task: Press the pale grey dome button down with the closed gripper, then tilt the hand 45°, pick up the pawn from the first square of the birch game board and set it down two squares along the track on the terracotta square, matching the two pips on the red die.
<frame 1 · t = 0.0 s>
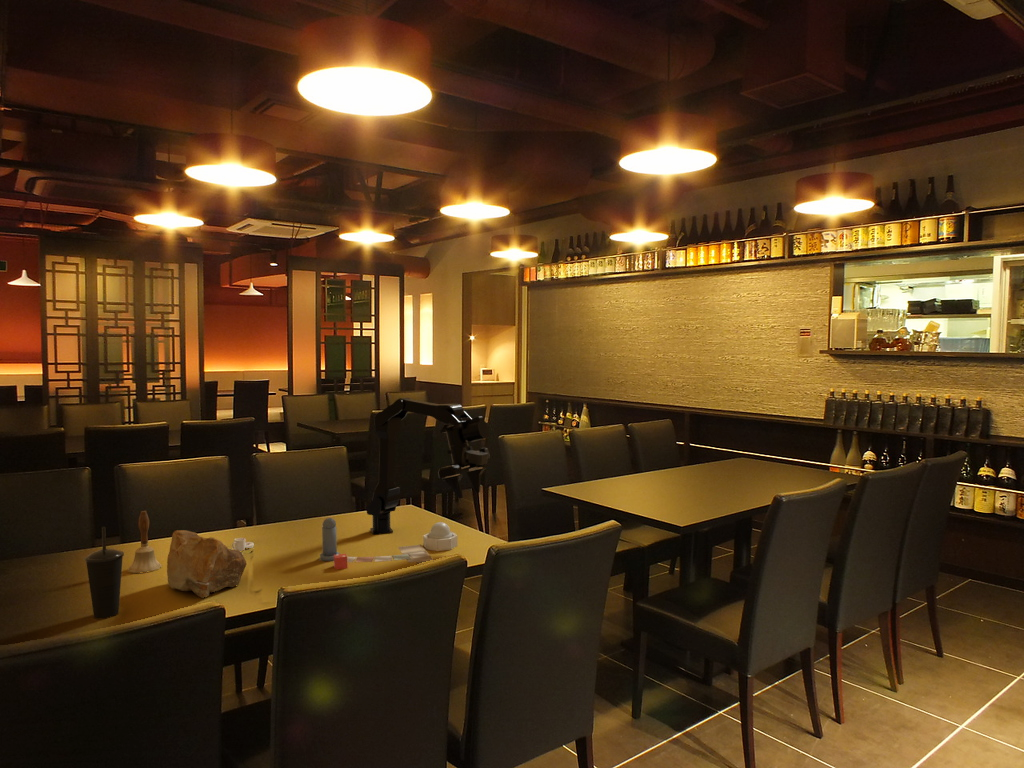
hand: (469, 495, 210), 15 cm above the table, tool pointing down, fingers open, 9 cm apart
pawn: (329, 558, 195), point 1 cm above the table, touching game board
dome housing: (440, 545, 211), on the table
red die: (340, 567, 187), resting on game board
drinking cup: (106, 615, 157), on the table
rough brown rock: (210, 588, 175), on the table
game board: (374, 560, 196), on the table
teacup and saucer: (250, 552, 207), on the table
dome button: (440, 532, 211), point 4 cm above the table, slide at 0.0 cm
hand bell: (144, 569, 190), on the table
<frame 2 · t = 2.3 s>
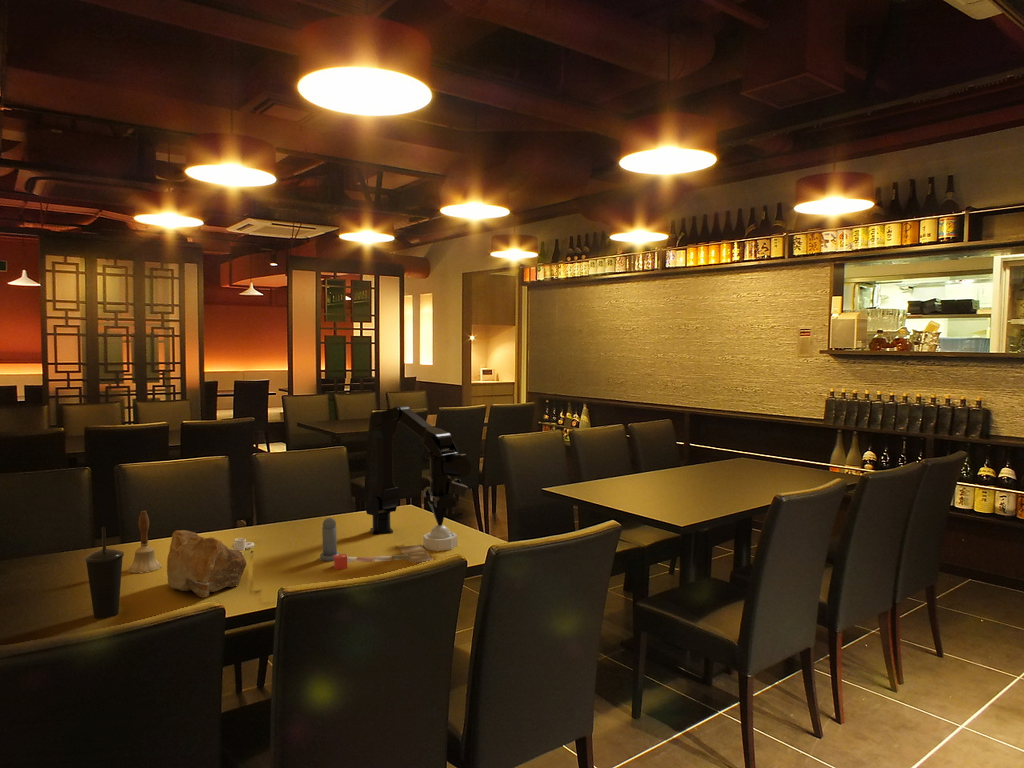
hand: (440, 525, 211), 6 cm above the table, tool pointing down, fingers closed, pressing on dome button
dome button: (440, 534, 211), point 3 cm above the table, slide at 0.8 cm, touching gripper
everything else where it was.
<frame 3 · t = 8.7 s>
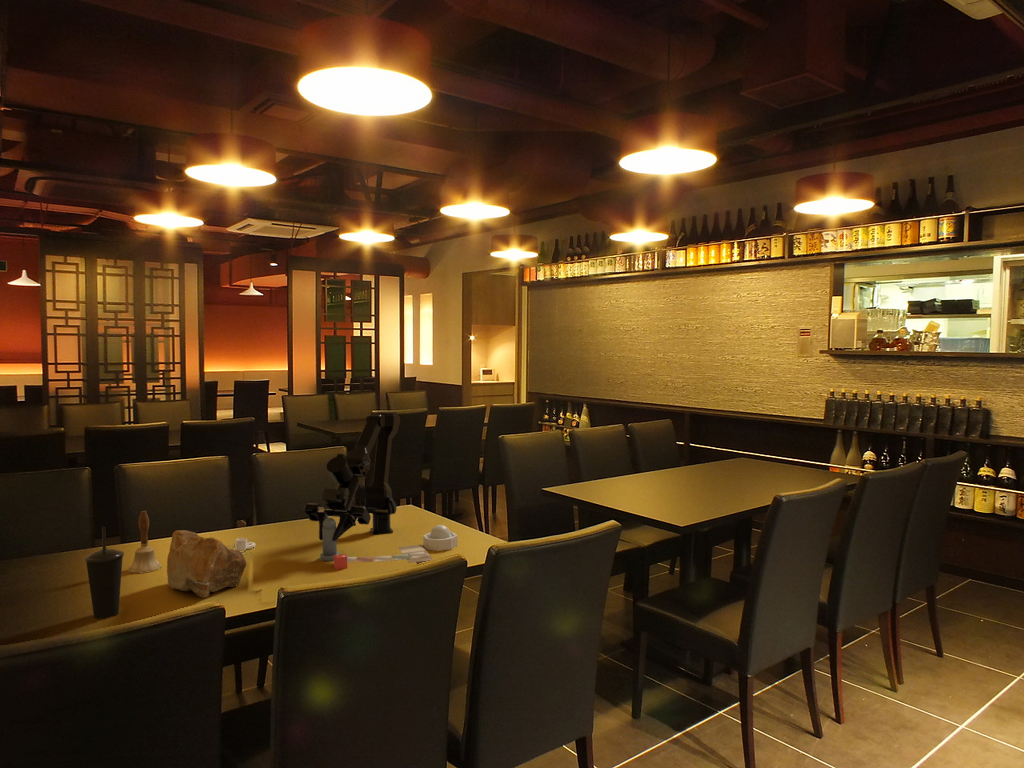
hand: (327, 540, 193), 7 cm above the table, tool tilted 45°, fingers closed on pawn, 4 cm apart
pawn: (329, 558, 195), point 1 cm above the table, touching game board, gripper
dome button: (440, 535, 211), point 3 cm above the table, slide at 0.8 cm
everything else where it was.
when the fingers open (8 cm above the table, at t = 12.4 s): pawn drops 1 cm, resting on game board.
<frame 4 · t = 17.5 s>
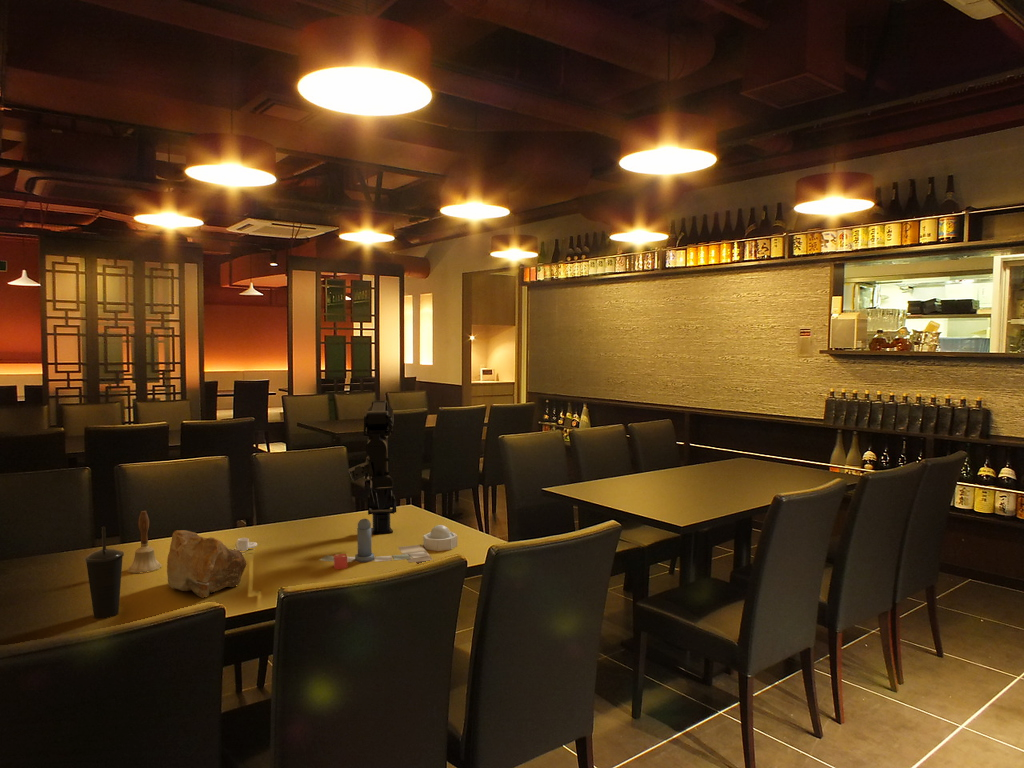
hand: (378, 506, 207), 13 cm above the table, tool pointing down, fingers open, 9 cm apart
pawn: (364, 559, 194), point 1 cm above the table, touching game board
everything else where it was.
at the end: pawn 0.1 cm from the target spot, point 1.2 cm above the table; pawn tilted 0°; dome button slide at 0.8 cm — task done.
